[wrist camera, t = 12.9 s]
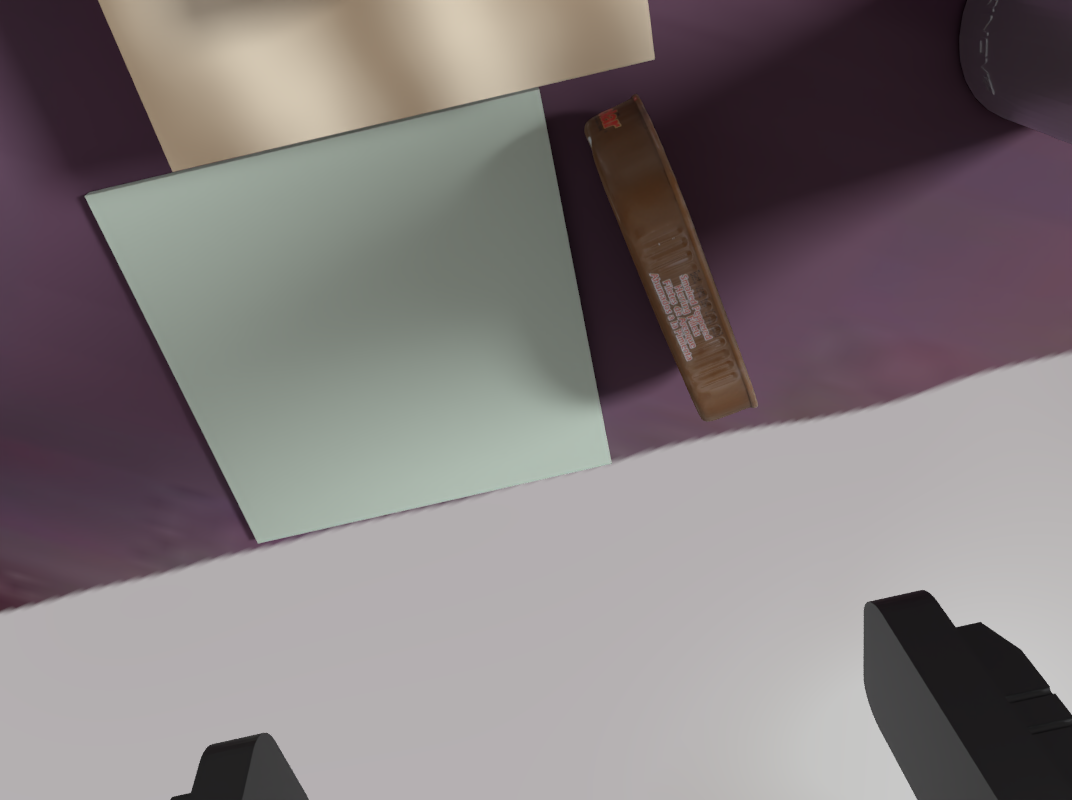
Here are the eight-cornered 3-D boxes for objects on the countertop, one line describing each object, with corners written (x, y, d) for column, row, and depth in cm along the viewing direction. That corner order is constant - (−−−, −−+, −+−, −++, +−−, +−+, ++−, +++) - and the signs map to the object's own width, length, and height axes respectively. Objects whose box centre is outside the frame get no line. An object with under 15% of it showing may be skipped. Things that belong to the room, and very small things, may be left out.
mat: (537, 86, 36) (539, 89, 35) (609, 457, 46) (611, 463, 46) (89, 192, 36) (84, 196, 36) (259, 536, 47) (257, 543, 46)
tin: (729, 349, 44) (786, 437, 36) (673, 373, 44) (718, 465, 37) (626, 73, 36) (672, 114, 29) (560, 105, 36) (589, 155, 29)
